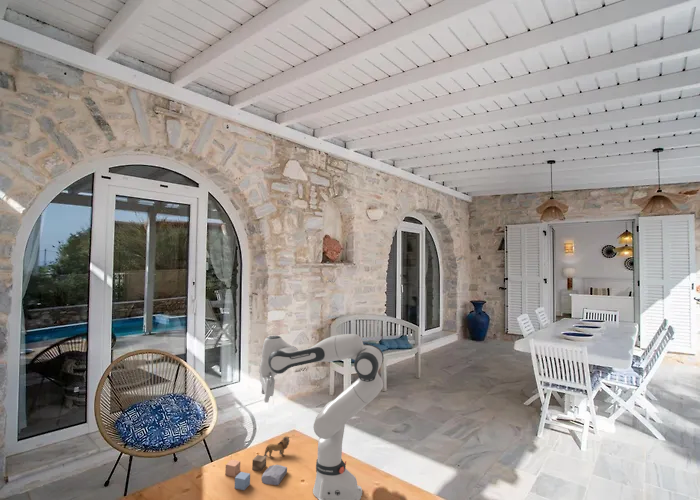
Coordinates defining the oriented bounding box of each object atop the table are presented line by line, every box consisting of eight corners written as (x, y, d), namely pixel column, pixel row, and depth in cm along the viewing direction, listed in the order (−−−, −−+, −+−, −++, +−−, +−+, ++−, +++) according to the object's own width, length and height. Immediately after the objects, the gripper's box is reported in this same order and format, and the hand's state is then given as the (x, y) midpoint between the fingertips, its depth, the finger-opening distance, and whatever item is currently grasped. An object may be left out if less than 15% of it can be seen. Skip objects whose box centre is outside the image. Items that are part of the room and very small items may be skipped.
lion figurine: (286, 450, 215) (287, 433, 215) (290, 454, 210) (291, 437, 210) (260, 456, 207) (261, 439, 207) (264, 461, 203) (265, 444, 203)
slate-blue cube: (249, 484, 183) (250, 473, 183) (244, 490, 178) (244, 479, 178) (240, 482, 184) (240, 471, 184) (234, 488, 180) (234, 477, 180)
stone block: (260, 487, 184) (279, 486, 182) (258, 476, 184) (278, 475, 182) (270, 474, 196) (289, 473, 194) (268, 464, 196) (287, 463, 194)
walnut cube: (266, 466, 198) (266, 456, 198) (261, 471, 194) (261, 461, 194) (257, 464, 200) (257, 454, 200) (252, 469, 195) (252, 459, 195)
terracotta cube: (240, 471, 193) (240, 461, 193) (234, 476, 189) (234, 466, 189) (231, 469, 195) (231, 459, 195) (225, 474, 190) (225, 464, 190)
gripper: (279, 377, 179) (275, 407, 180) (271, 362, 198) (268, 389, 199) (265, 377, 177) (261, 407, 177) (259, 362, 196) (255, 389, 196)
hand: (264, 397), depth 188 cm, fingers open, 8 cm apart
